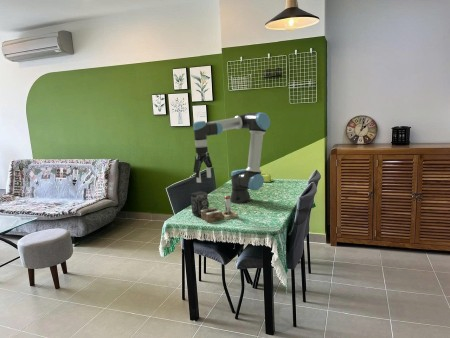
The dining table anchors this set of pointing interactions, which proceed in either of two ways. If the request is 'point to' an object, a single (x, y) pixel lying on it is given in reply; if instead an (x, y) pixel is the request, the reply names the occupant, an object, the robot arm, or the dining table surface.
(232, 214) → the mount block
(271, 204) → the dining table surface
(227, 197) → the lock pin
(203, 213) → the dock block
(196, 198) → the camera
